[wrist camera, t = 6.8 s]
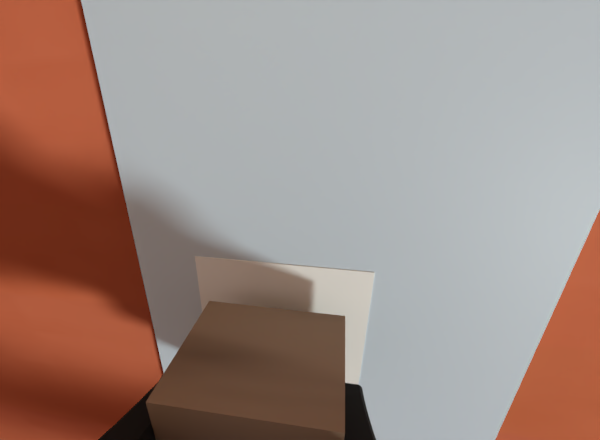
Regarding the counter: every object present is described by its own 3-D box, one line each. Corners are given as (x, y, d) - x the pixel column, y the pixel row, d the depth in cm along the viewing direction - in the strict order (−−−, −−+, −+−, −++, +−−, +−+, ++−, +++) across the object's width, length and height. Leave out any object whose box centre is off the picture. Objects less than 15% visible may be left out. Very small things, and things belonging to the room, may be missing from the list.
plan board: (478, 452, 16) (483, 466, 15) (178, 408, 17) (173, 419, 17) (693, -49, 7) (724, -61, 7) (87, -38, 9) (69, -47, 9)
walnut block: (335, 409, 13) (331, 537, 9) (220, 392, 13) (174, 507, 10) (345, 316, 11) (344, 433, 7) (209, 300, 11) (146, 402, 8)
